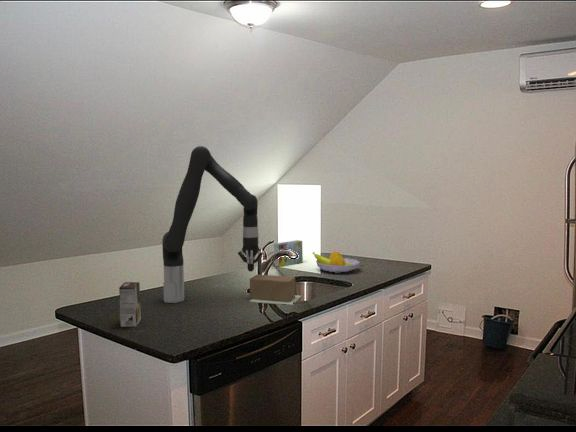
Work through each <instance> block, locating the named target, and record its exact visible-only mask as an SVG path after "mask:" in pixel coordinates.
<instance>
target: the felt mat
mask: <svg viewBox="0 0 576 432" xmlns="http://www.w3.org/2000/svg"><path fill="white" fill-rule="evenodd" d="M301 296H302V295H298V294H297V295H296V294H295V297H294V298H293V299H292V300H291V301H290V302H282V301H270V300H258V299H250V300H249V301H248V302H249V303H259V304H271V305H272V304H273V305H282V304H286V305H285V306H293V305H294V304H293V302H295V303H296V302H297V301H298V300H299V299H300V298H301Z"/></svg>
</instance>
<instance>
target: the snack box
mask: <svg viewBox="0 0 576 432" xmlns="http://www.w3.org/2000/svg"><path fill="white" fill-rule="evenodd" d="M283 249H291V250H293V251H295V252H297V253H298V255H299V258H298V259H289V258H288V257H286V256H284V257H280V258H279V259H277V260H276V261H275V263H273V266H274V267H277V268H282V267H288V266H292V265H298V264H303V261H304V259H303V258H304V257H303V255H304V254H303V240H297V239H296V240H289V241H282V242H278V243H277V242H276V243H273V254H274V253H275V252H277V251H280V250H283Z"/></svg>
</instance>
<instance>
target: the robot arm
mask: <svg viewBox="0 0 576 432" xmlns="http://www.w3.org/2000/svg"><path fill="white" fill-rule="evenodd" d="M204 172H207V173H208V174H210V175H211V176H212V177H213V178H214V179H215V180H216V181H217V182H218V184H220V186H222V187H223V188H224V189H225V190H226V191H227V192H228V193H229V194H230V195H231V196H232V197H234V198H235V199H236V200H237V202H239V204H240V205H241V206H242V207H243V216H242V217H243V218H242V247H241V250H239V251H238V252H237V255H238V257H240V258H241V260H242V261H243V263H245V264H247V270H248V272H254V269H255V264H257V263H258V262H259V260H260V259H261V258H262V257H263V255H264V252H263V251H261V250H260V247H259V227H258V205H259V204H258V203H259V202H258V201H259V200H258V198H257V196H256V195H254V194H252V193H250V191H248V190H247V189H246V188H245V186H244V185H243V184H242V183H241V182H240V181H239V180H238V179H237V178H236V177H235V176H234V175H232V174H231V173H229V172H228V171H227V170H226V169H224V168H223V167H222V165H220V164H219V163H218V162H217V161H216V160H215V158H214V157H213V155H212V154H211V152H210V150H209V149H208V148H207V147H205V146H203V145H198V146H196V147H195V148H193V149H192V150H191V153H190V158H189V163H188V167H187V172H186V174H185V176H184V178H183V181H182V183H181V186H180V189H179V191H178V194H177V198H176V201H175V204H174V212H173V217H172V223H171V225H170V227H169V230H168V231H167V232H165V233H164V234H163V236H162V243H161V244H162V260H163V302H164V303H167V304H168V303H169V304H170V303H171V304H177V303H181V302H184V301H185V280H184V279H185V272H184V255H183V246H184V245H185V244H184V243H185V239H186V234H187V231H188V230H187V229H188V226H189V224H190V221H191V218H192V216H193V214H194V210H195V208H196V207H197V206H196V205H197V202H198V199H199V195H200V192H201V191H200V190H201V185H202V178H203V175H204Z"/></svg>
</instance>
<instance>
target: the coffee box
mask: <svg viewBox="0 0 576 432" xmlns="http://www.w3.org/2000/svg"><path fill="white" fill-rule="evenodd" d="M140 287H141V285H140V281H138V282H136V281H135V282H134V281H128V282H127V281H125V282H123V283H122V284H121V285H120V286H119V287H118V288H119V290H118V291H119V315H120V316H119V319H120V322H119V323H120V327H121V328H126V327H127V328H128V327H132V328H133V327H137V326H138V325H139V323H140V321H141V319H142V315H141V314H142V313H141V311H142V310H141V289H140Z"/></svg>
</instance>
